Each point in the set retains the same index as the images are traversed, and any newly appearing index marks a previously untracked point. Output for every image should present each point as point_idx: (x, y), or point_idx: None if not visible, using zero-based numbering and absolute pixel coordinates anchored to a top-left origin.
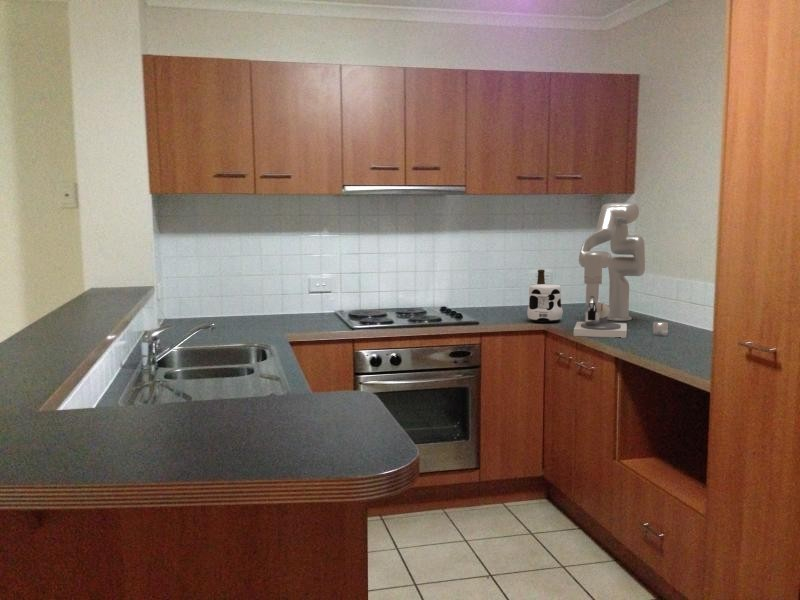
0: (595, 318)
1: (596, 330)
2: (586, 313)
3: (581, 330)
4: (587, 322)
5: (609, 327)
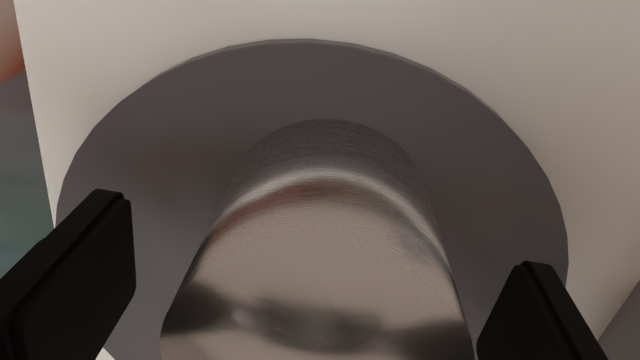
0: (116, 311)
1: (53, 204)
2: (241, 246)
3: (29, 12)
4: (249, 162)
5: (137, 346)
